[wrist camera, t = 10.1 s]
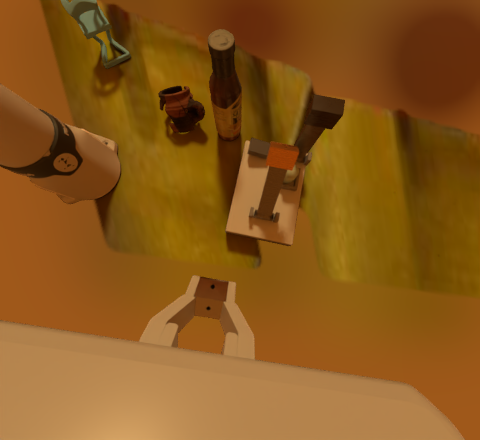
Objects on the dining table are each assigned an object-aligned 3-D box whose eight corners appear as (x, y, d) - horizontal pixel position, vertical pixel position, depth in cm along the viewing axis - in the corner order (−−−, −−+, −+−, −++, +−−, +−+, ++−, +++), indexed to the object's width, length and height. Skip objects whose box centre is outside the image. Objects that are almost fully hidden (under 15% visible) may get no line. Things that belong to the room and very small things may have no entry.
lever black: (283, 162, 39) (311, 109, 24) (285, 152, 40) (314, 94, 24) (302, 165, 39) (342, 115, 24) (304, 156, 40) (345, 100, 24)
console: (226, 232, 41) (223, 230, 35) (244, 149, 44) (245, 133, 38) (288, 245, 41) (297, 245, 34) (302, 160, 44) (313, 146, 37)
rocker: (247, 153, 39) (248, 150, 37) (249, 141, 39) (251, 137, 37) (265, 159, 39) (268, 155, 38) (268, 147, 40) (270, 143, 38)
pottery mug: (162, 133, 46) (146, 96, 39) (181, 118, 51) (169, 83, 44) (201, 136, 42) (190, 96, 36) (217, 120, 47) (210, 82, 41)
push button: (279, 182, 38) (283, 176, 35) (281, 169, 38) (285, 162, 35) (292, 184, 38) (297, 179, 34) (295, 172, 38) (300, 165, 35)
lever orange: (252, 219, 36) (270, 146, 26) (253, 212, 38) (270, 141, 28) (272, 224, 36) (299, 152, 26) (272, 216, 38) (297, 146, 27)
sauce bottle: (238, 144, 44) (237, 63, 25) (215, 140, 45) (195, 57, 25) (243, 121, 45) (245, 26, 26) (220, 117, 46) (204, 20, 26)
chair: (119, 36, 50) (81, -30, 38) (131, 57, 48) (96, -5, 37) (94, 48, 49) (48, -15, 37) (106, 69, 48) (62, 11, 36)
